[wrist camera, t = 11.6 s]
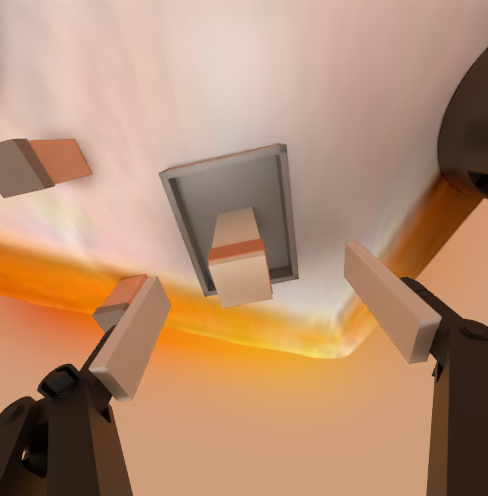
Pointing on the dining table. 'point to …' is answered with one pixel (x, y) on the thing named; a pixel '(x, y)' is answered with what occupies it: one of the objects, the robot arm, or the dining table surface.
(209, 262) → the block
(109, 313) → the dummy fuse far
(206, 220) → the tray
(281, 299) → the dining table surface
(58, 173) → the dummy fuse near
